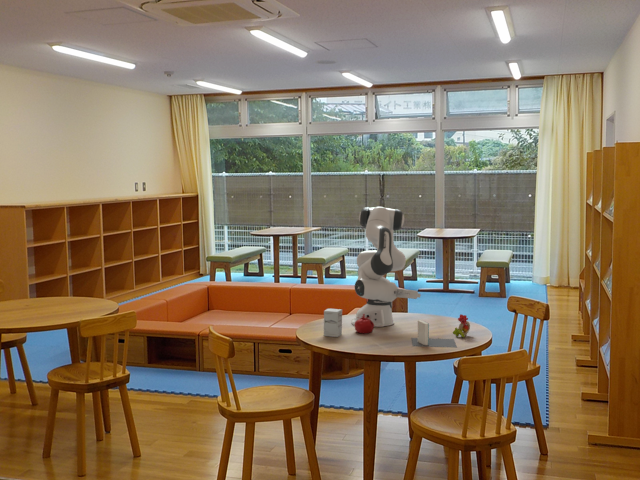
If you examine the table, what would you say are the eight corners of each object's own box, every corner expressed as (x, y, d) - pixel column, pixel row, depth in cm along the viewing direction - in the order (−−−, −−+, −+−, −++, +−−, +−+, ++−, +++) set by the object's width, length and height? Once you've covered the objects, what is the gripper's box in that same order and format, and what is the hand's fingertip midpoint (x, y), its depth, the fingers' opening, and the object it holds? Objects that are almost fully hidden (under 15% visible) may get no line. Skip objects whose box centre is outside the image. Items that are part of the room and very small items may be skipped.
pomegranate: (357, 335, 324) (357, 317, 323) (351, 330, 334) (351, 312, 333) (376, 334, 327) (376, 315, 326) (370, 329, 337) (369, 311, 336)
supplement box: (323, 336, 322) (323, 310, 321) (328, 333, 329) (328, 308, 328) (337, 337, 319) (337, 311, 318) (342, 334, 326) (342, 309, 325)
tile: (424, 345, 302) (425, 323, 301) (417, 341, 309) (417, 320, 308) (428, 344, 303) (428, 323, 302) (421, 341, 309) (421, 320, 308)
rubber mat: (412, 347, 300) (412, 346, 300) (411, 339, 316) (411, 337, 316) (457, 348, 298) (457, 347, 298) (453, 340, 314) (453, 339, 314)
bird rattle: (459, 338, 327) (449, 333, 321) (465, 317, 329) (455, 312, 323) (470, 341, 322) (459, 336, 316) (476, 319, 324) (466, 314, 318)
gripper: (403, 285, 285) (428, 289, 292) (376, 283, 303) (400, 287, 310) (401, 300, 285) (426, 303, 291) (374, 297, 302) (399, 300, 309)
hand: (413, 295), depth 301 cm, fingers open, 8 cm apart
